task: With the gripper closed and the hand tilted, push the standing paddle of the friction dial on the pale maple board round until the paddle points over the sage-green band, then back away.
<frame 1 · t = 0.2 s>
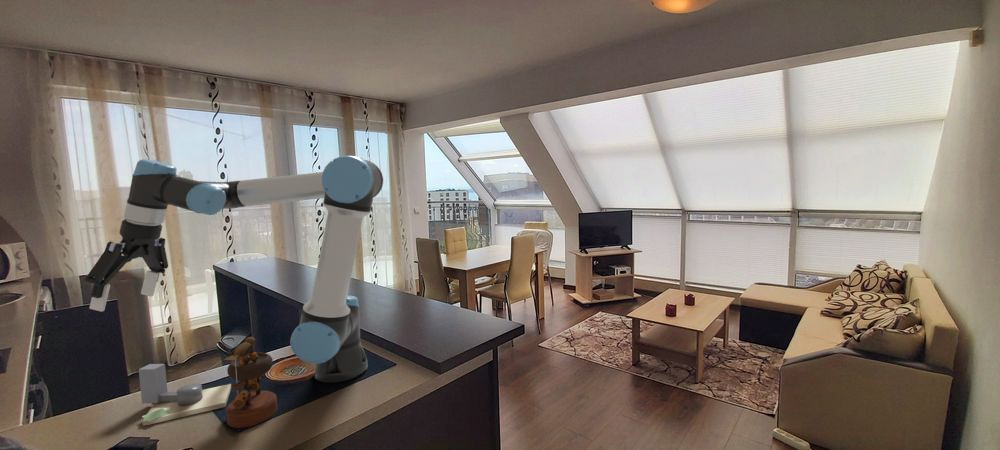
hand: (123, 301, 96), 28 cm above the kitchen counter, tool tilted 20°, fingers open, 13 cm apart
peg: (172, 383, 98), point 6 cm above the kitchen counter, hinge at 0.0°
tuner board: (190, 405, 99), on the kitchen counter
music box: (254, 413, 95), on the kitchen counter
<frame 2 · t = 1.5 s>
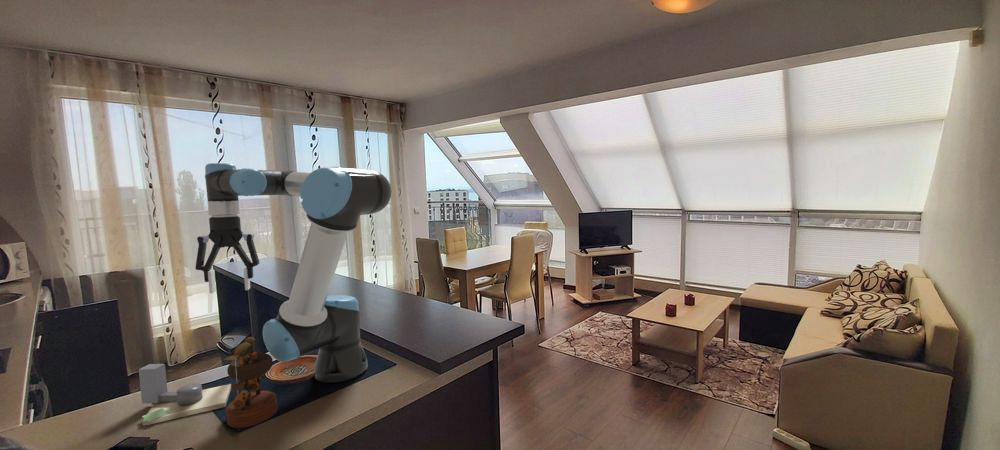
hand: (230, 290, 115), 25 cm above the kitchen counter, tool pointing down, fingers open, 8 cm apart
nothing on the kitchen counter moved.
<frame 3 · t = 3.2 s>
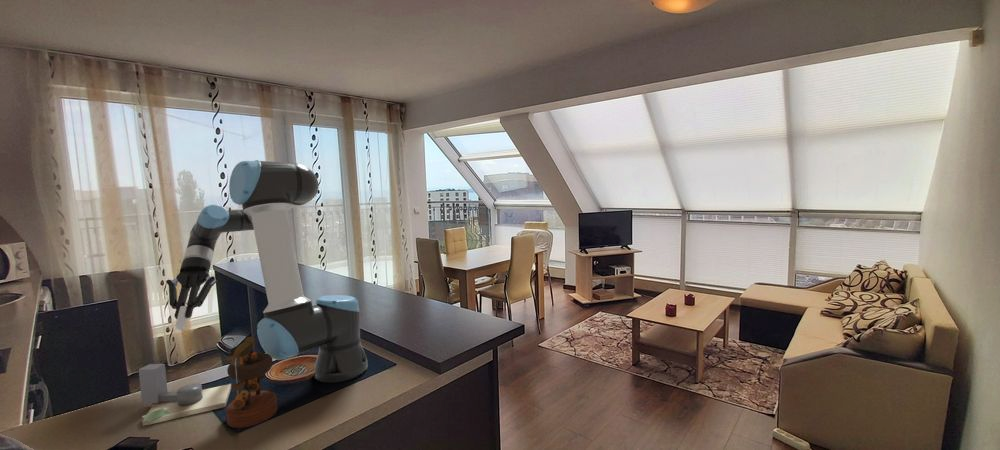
hand: (179, 327, 113), 15 cm above the kitchen counter, tool tilted 45°, fingers closed
nothing on the kitchen counter moved.
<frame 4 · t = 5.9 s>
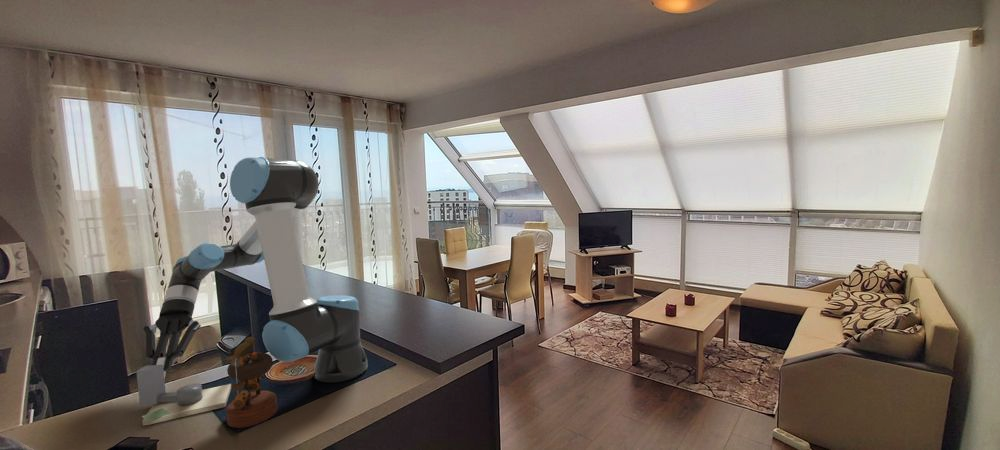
hand: (156, 383, 100), 5 cm above the kitchen counter, tool tilted 45°, fingers closed
peg: (171, 384, 98), point 6 cm above the kitchen counter, hinge at 3.9°, touching gripper
everything else where it was.
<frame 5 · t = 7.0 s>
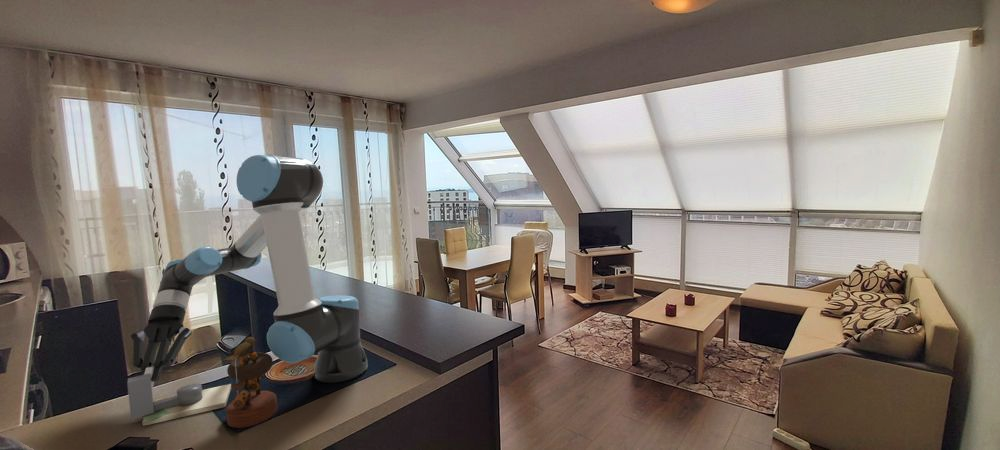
hand: (144, 395, 95), 5 cm above the kitchen counter, tool tilted 45°, fingers closed
peg: (167, 389, 95), point 6 cm above the kitchen counter, hinge at 42.3°, touching gripper
everything else where it was.
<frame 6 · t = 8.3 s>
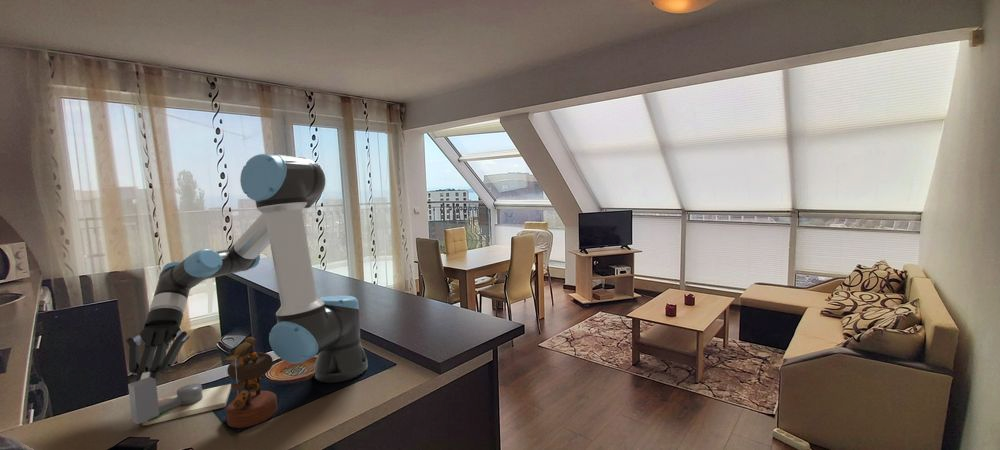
hand: (140, 401, 92), 5 cm above the kitchen counter, tool tilted 45°, fingers closed
peg: (168, 390, 94), point 6 cm above the kitchen counter, hinge at 62.2°, touching gripper
everything else where it was.
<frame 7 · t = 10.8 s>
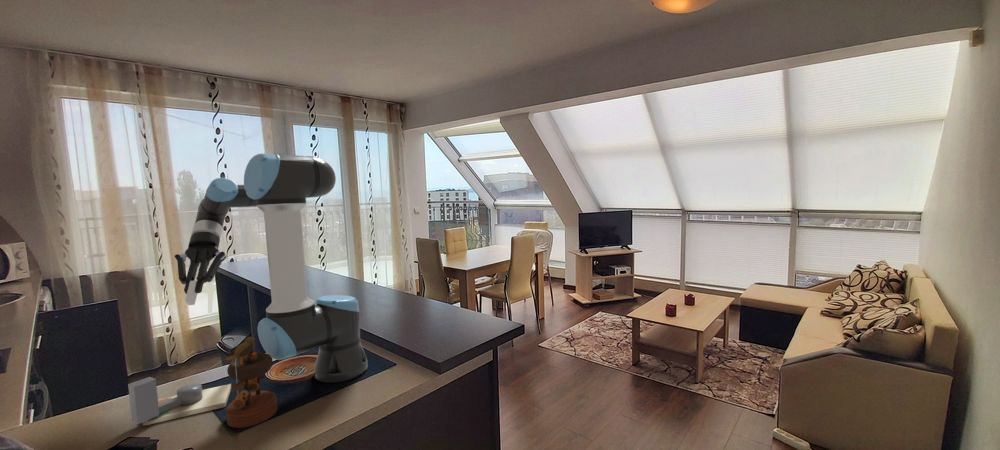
hand: (189, 302, 108), 24 cm above the kitchen counter, tool tilted 45°, fingers closed
peg: (168, 390, 94), point 6 cm above the kitchen counter, hinge at 62.3°
everything else where it was.
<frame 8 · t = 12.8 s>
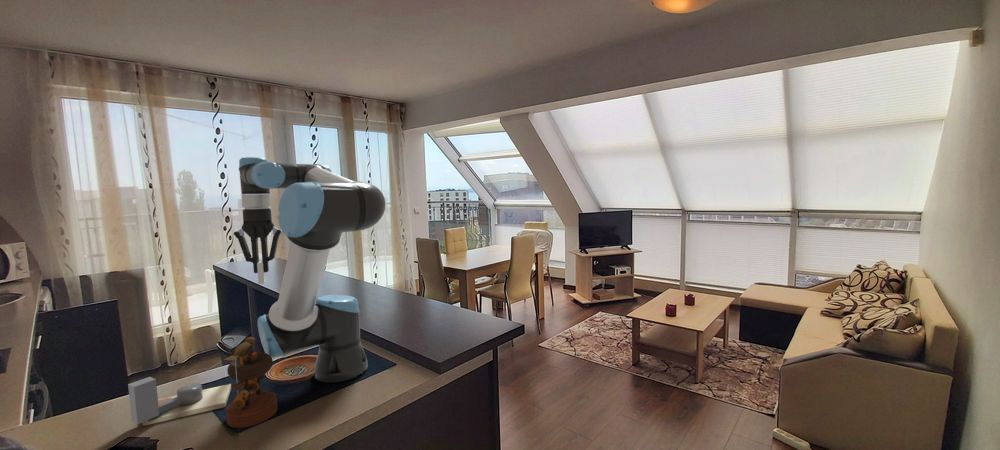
hand: (262, 282, 120), 26 cm above the kitchen counter, tool pointing down, fingers closed
nothing on the kitchen counter moved.
at the end: peg at +62° (first picture: +0°); the gripper is holding nothing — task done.
